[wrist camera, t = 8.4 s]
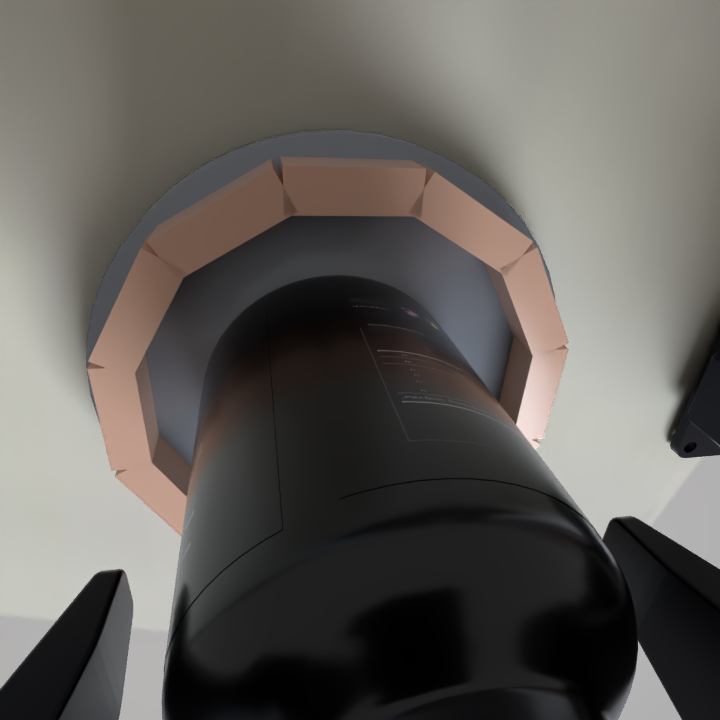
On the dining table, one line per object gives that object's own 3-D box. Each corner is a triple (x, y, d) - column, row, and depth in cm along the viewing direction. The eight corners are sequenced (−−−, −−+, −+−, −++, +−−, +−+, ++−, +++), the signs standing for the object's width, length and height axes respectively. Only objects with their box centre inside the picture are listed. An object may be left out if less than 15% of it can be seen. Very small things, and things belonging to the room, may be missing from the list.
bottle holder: (589, 138, 13) (643, 150, 12) (498, 507, 20) (524, 553, 18) (43, 118, 11) (0, 128, 9) (137, 542, 17) (123, 599, 16)
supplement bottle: (354, 504, 17) (506, 1178, 7) (158, 417, 14) (-104, 1366, 4) (497, 348, 15) (1031, 972, 5) (301, 209, 12) (569, 1038, 2)
